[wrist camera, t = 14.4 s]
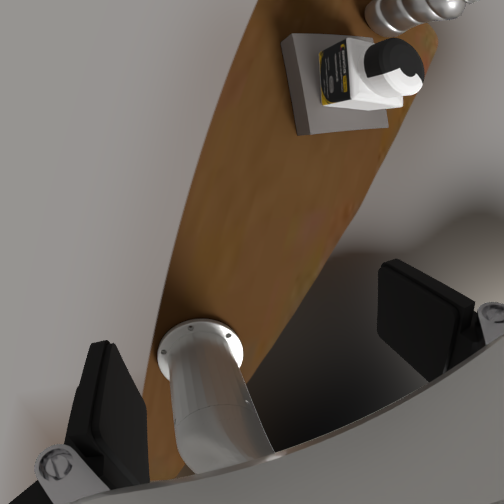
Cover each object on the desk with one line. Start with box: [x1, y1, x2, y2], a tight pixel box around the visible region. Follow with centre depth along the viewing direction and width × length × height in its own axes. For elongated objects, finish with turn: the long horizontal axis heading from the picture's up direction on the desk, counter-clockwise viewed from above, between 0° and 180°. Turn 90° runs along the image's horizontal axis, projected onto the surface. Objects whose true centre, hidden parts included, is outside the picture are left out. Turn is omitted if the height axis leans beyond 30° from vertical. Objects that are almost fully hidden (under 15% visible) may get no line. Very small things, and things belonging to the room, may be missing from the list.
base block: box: [281, 33, 388, 136], centre depth 36 cm, size 13×12×4 cm
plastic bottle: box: [365, 0, 479, 37], centre depth 27 cm, size 6×7×20 cm
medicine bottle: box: [319, 38, 424, 111], centre depth 29 cm, size 7×7×12 cm
